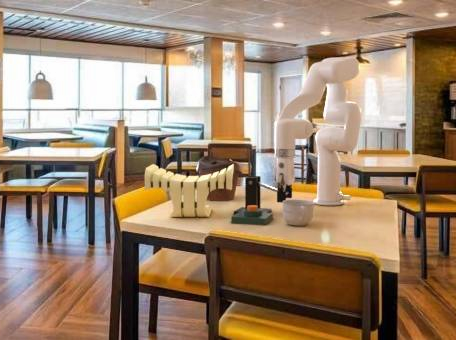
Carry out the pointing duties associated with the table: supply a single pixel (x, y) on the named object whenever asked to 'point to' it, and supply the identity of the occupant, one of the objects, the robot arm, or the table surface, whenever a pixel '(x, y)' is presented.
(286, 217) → the teacup
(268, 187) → the lever
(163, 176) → the slatted curved stool
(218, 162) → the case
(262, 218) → the button block
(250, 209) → the button
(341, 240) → the table surface
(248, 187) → the bracket
